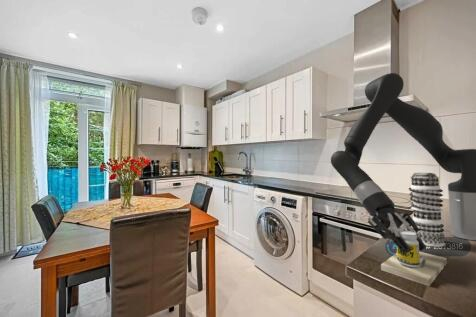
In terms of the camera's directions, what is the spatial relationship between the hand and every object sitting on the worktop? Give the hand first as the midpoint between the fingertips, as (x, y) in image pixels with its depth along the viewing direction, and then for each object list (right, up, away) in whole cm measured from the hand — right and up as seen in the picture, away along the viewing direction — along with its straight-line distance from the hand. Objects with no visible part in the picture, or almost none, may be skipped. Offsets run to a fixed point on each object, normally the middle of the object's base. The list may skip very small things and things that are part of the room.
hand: (415, 250), depth 55 cm
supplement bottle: (0, -4, +2) cm, 5 cm away
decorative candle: (+22, -6, +20) cm, 31 cm away
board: (+3, -6, +3) cm, 7 cm away
